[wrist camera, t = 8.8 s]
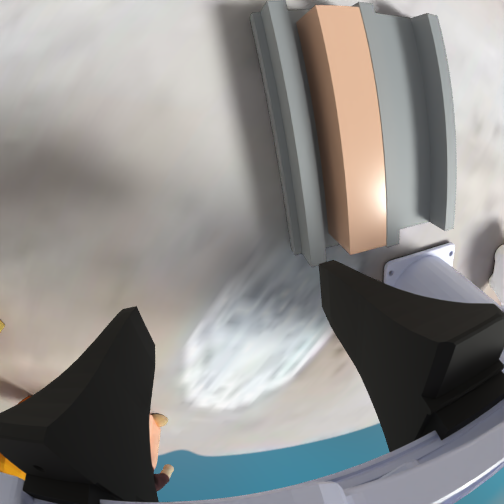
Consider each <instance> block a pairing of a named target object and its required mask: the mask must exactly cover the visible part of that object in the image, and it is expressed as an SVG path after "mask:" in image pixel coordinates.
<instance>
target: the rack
mask: <svg viewBox="0 0 504 504" xmlns="http://www.w3.org/2000/svg"><path fill="white" fill-rule="evenodd" d="M351 7H359V9H360V13H361V17H362V21H363V25H364V29H365V33H366V38H367V42H368V47H369V52H370V57H371V62H372V68H373V73H374V79H375V85H376V92H377V99H378V106H379V114H380V122H381V131H382V141H383V153H384V167H385V185H386V247H390V246H394V245H398V244H399V230H400V229H403V228H407V227H411V226H415V225H419V224H423V223H427V222H431V223H432V224H434V225H436V226H438V227H439V228H441V229H442V230H444V231H447V230H450V229H454V219H455V204H456V172H457V162H456V131H455V116H454V105H453V96H452V88H451V80H450V73H449V67H448V61H447V56H446V50H445V45H444V41H443V36H442V32H441V28H440V23H439V20H438V16H437V15H433V14H429V13H426V14H423V15H420V16H416V17H413V18H406V17H400V16H393V15H386V14H378V13H375V10H374V6H373V4H372V3H364V2H358V3H356V4H355V5H353V6H351ZM308 11H309V10H288V9H287V5H286V1H285V0H273V1H267V2H266V4H265V5H264V7H263V9H262V10H261V12H256V13H252V14H251V16H250V21H251V26H252V30H253V35H254V40H255V44H256V49H257V54H258V58H259V63H260V68H261V73H262V78H263V83H264V88H265V93H266V98H267V104H268V109H269V114H270V120H271V125H272V131H273V136H274V142H275V148H276V154H277V159H278V165H279V171H280V177H281V183H282V190H283V196H284V202H285V209H286V215H287V222H288V229H289V236H290V243H291V249H292V251H293V252H294V254H295V255H299V254H303V255H304V257H305V258H306V260H307V261H308V263H309V264H310V266H311V267H315V266H319V264H320V263H324V262H326V250H325V248H328V247H332V246H336V245H340V244H339V243H338V242H337V241H336V240H335V239H334V238H333V237H332V236H331V235H330V234H329V233H328V222H327V211H326V201H325V192H324V183H323V175H322V167H321V159H320V151H319V144H318V137H317V130H316V124H315V118H314V111H313V105H312V100H311V94H310V88H309V83H308V77H307V72H306V67H305V62H304V57H303V52H302V47H301V43H300V38H299V34H298V29H297V25H296V22H297V21H298V20H299V19H301V18H302V17H303V16H304V15H305V14H306V13H307V12H308Z"/></svg>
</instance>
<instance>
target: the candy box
mask: <svg viewBox="0 0 504 504" xmlns="http://www.w3.org/2000/svg"><path fill="white" fill-rule="evenodd" d="M4 326H5V325H4V323H3V322H2V321H1V320H0V333H1V331H2V329H3V328H4Z"/></svg>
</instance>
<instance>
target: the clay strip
mask: <svg viewBox="0 0 504 504" xmlns="http://www.w3.org/2000/svg"><path fill="white" fill-rule="evenodd" d="M296 25H297V29H298V34H299V38H300V43H301V47H302V52H303V57H304V62H305V67H306V72H307V77H308V83H309V88H310V94H311V100H312V105H313V111H314V118H315V124H316V130H317V137H318V144H319V151H320V159H321V167H322V175H323V183H324V192H325V201H326V211H327V222H328V233H329V234H330V235H331V236H332V237H333V238H334V239H335V240H336V241H337V242H338V243H339V244H340V245H341V246H342V247H343V248H344V249H345V250H346V251H347V252H348V253H349V254H350V255H352V254H356V253H360V252H364V251H367V250H371V249H375V248H379V247H382V246H386V185H385V167H384V153H383V141H382V131H381V122H380V114H379V106H378V99H377V92H376V85H375V79H374V73H373V68H372V62H371V57H370V52H369V47H368V42H367V38H366V33H365V29H364V25H363V21H362V17H361V13H360V9H359V7H351V6H333V5H315V6H314V7H313V8H312V9H311V10H309V11H308V12H307V13H306V14H305V15H304V16H303V17H302V18H301V19H299V20H298V21H297V22H296Z"/></svg>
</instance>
